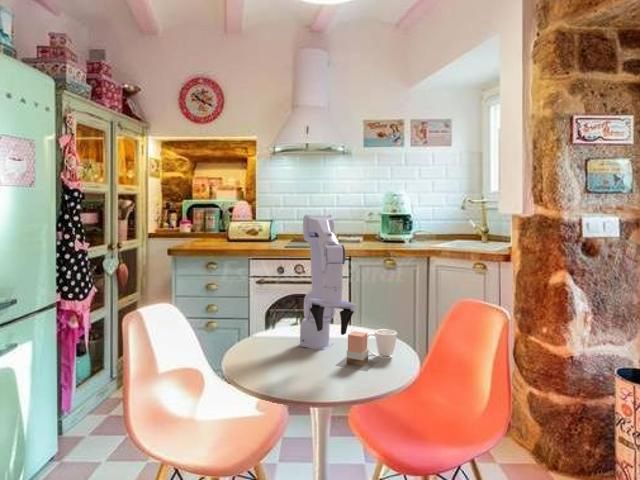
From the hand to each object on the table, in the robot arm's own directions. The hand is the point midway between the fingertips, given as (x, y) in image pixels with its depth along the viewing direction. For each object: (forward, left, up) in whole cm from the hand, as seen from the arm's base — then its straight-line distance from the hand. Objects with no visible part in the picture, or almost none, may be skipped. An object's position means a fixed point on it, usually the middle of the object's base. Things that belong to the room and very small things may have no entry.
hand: (331, 332), depth 139 cm
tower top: (+6, +6, -8) cm, 12 cm away
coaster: (+6, +6, -10) cm, 13 cm away
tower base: (+6, +6, -10) cm, 13 cm away
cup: (+10, +16, -11) cm, 22 cm away
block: (+6, +6, -6) cm, 10 cm away
